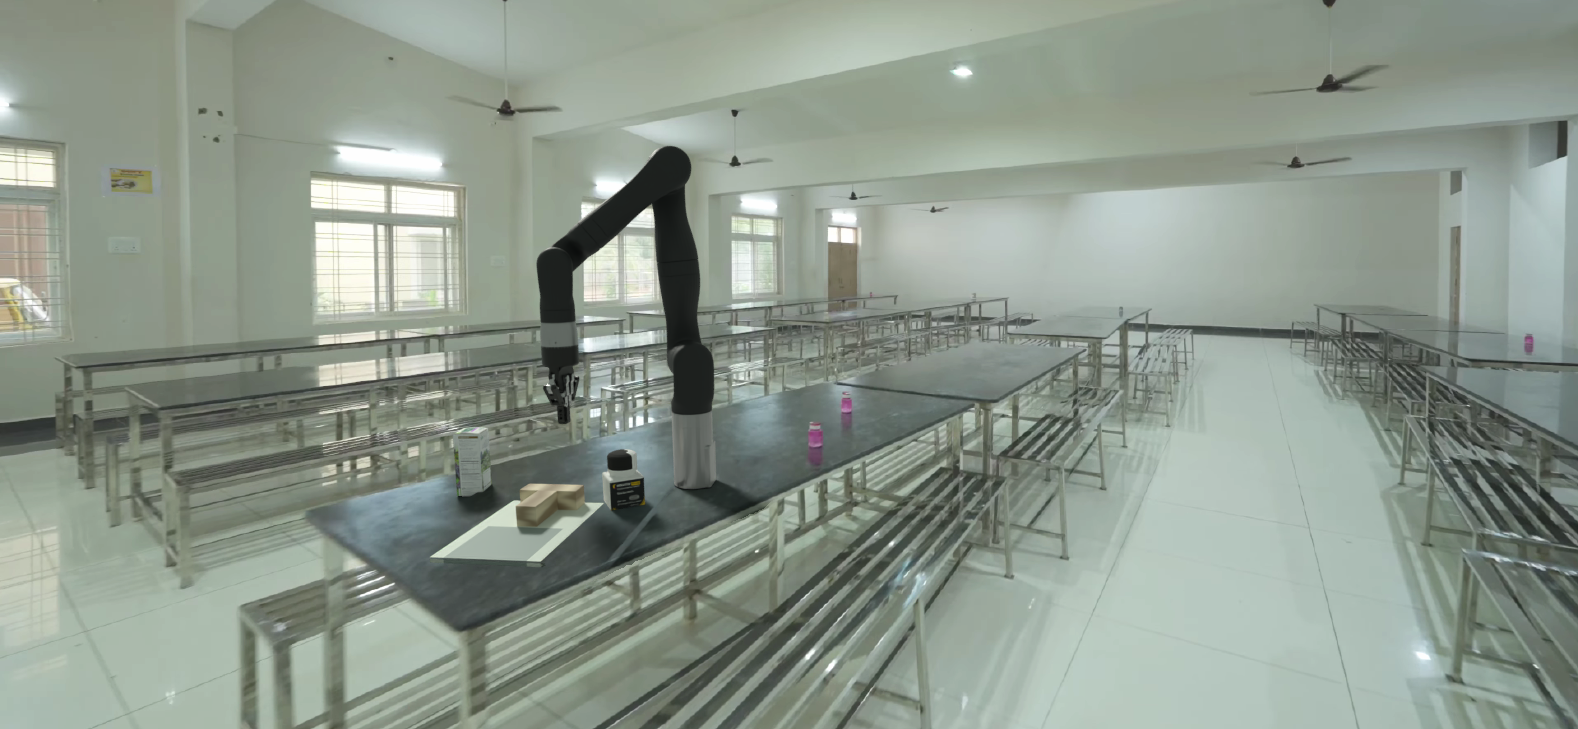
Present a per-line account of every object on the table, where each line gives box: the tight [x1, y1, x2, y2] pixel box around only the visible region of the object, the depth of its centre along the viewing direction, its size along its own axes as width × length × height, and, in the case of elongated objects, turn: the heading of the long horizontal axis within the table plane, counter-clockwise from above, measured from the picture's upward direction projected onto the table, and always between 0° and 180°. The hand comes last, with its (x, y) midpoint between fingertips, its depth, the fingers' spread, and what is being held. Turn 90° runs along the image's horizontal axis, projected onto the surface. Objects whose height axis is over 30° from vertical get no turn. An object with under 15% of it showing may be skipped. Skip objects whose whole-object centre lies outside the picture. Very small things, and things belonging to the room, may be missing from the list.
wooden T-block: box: [516, 483, 586, 527], centre depth 133 cm, size 12×13×4 cm
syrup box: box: [452, 426, 493, 497], centre depth 149 cm, size 6×6×14 cm
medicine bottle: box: [601, 448, 646, 511], centre depth 139 cm, size 7×7×12 cm
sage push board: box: [429, 499, 605, 568], centre depth 127 cm, size 20×28×1 cm
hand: (564, 423), depth 143 cm, fingers closed
